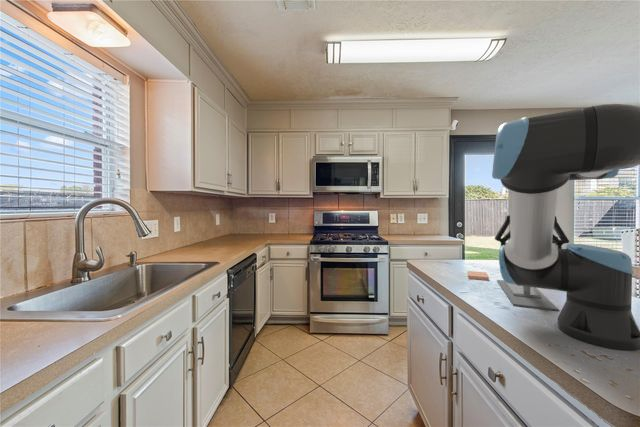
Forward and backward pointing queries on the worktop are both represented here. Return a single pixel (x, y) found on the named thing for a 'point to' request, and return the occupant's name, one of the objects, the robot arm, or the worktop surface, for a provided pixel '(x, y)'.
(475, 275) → the terracotta tile
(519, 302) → the rubber mat
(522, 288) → the steel trowel
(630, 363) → the worktop surface
